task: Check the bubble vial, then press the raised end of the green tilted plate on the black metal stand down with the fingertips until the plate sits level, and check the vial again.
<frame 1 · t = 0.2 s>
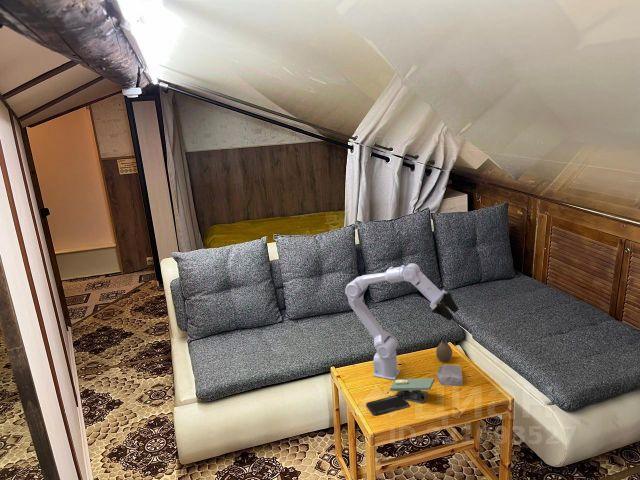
hand: (454, 314, 175), 31 cm above the table, tool tilted 45°, fingers open, 7 cm apart
tribrach base: (412, 395, 179), on the table
stone block: (449, 378, 190), on the table
vase: (444, 360, 204), on the table
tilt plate: (411, 383, 178), point 5 cm above the table, hinge at 14.0°
phone: (387, 407, 174), on the table
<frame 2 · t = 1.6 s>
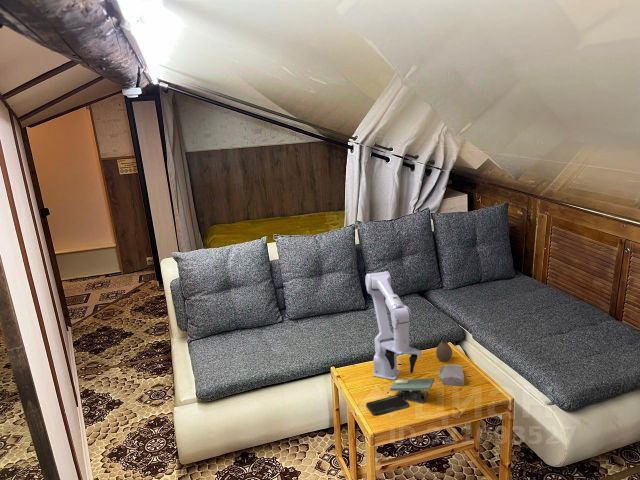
hand: (402, 370, 178), 10 cm above the table, tool pointing down, fingers open, 7 cm apart
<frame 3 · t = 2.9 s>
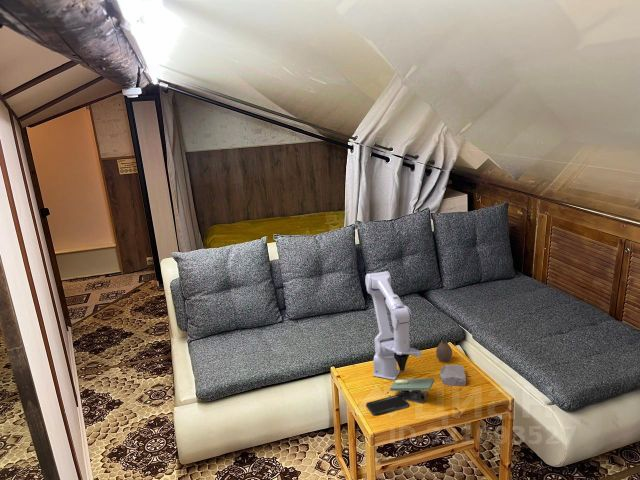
hand: (402, 370, 178), 10 cm above the table, tool pointing down, fingers closed
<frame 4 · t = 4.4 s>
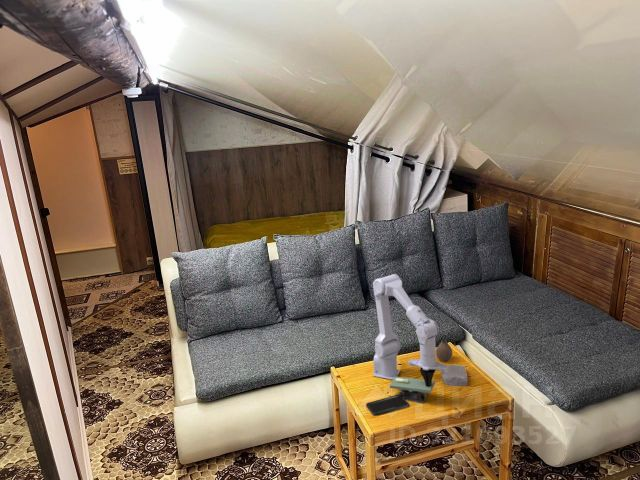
hand: (428, 385, 175), 6 cm above the table, tool pointing down, fingers closed, pressing on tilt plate
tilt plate: (412, 383, 178), point 5 cm above the table, hinge at 5.4°, touching gripper
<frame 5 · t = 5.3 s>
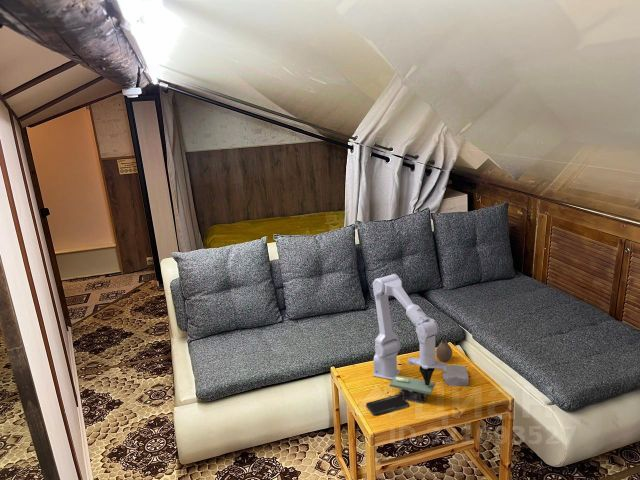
hand: (427, 383, 175), 7 cm above the table, tool pointing down, fingers closed
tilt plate: (412, 383, 178), point 5 cm above the table, hinge at 0.9°
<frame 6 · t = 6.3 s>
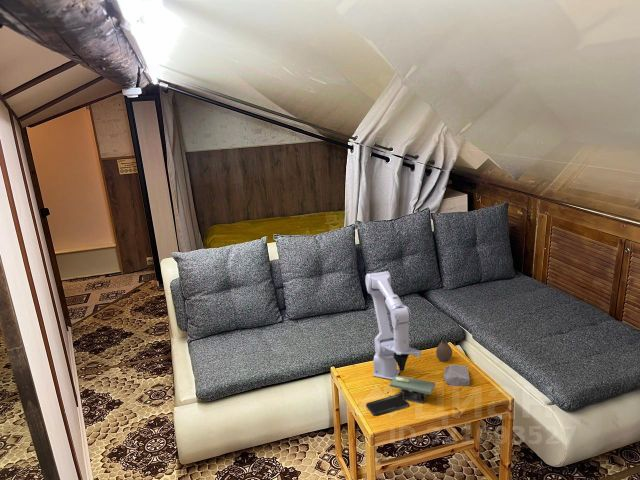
hand: (402, 370, 178), 10 cm above the table, tool pointing down, fingers closed
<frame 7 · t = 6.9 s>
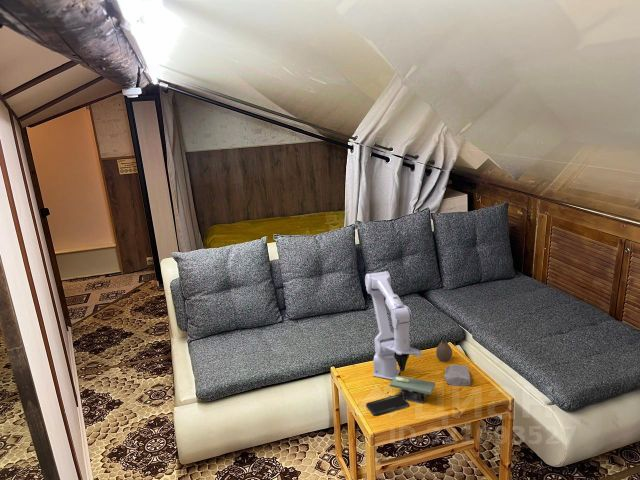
hand: (402, 369, 178), 10 cm above the table, tool pointing down, fingers closed
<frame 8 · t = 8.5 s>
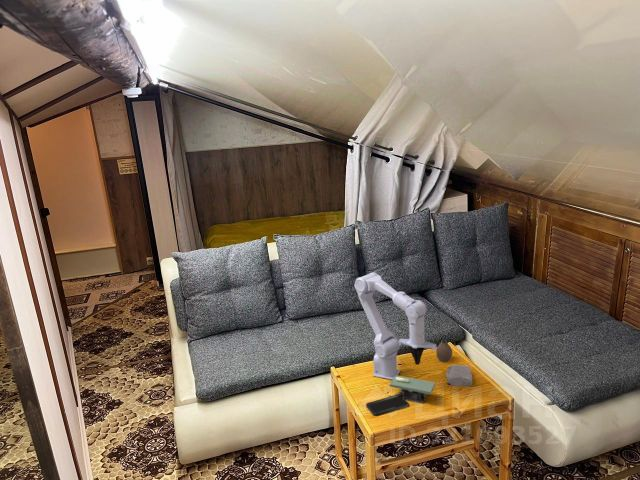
hand: (417, 363, 182), 10 cm above the table, tool pointing down, fingers closed
at the end: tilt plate at +1° (first picture: +14°) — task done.
